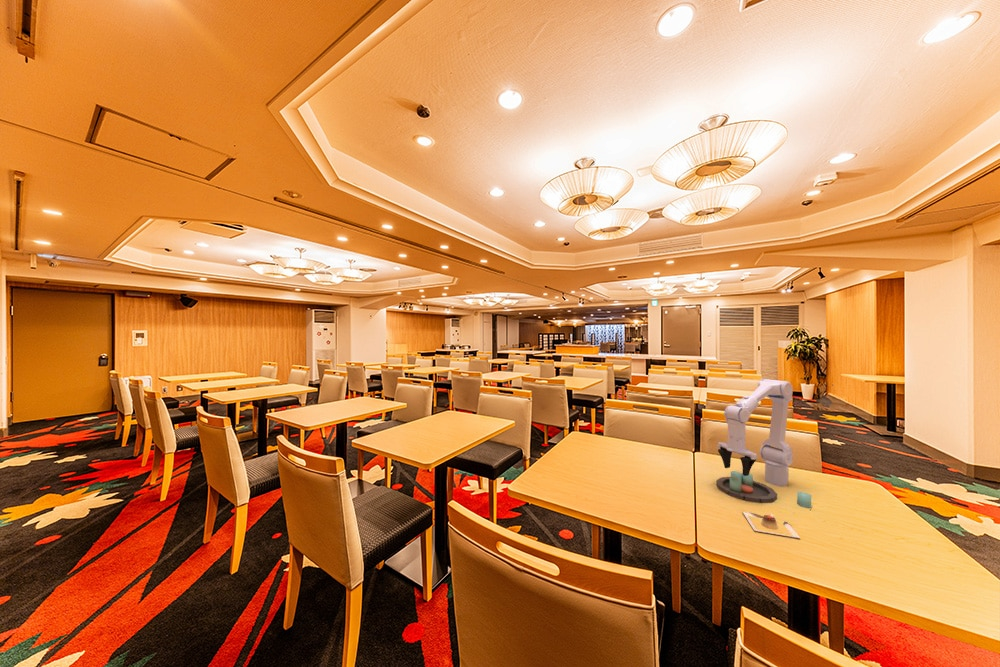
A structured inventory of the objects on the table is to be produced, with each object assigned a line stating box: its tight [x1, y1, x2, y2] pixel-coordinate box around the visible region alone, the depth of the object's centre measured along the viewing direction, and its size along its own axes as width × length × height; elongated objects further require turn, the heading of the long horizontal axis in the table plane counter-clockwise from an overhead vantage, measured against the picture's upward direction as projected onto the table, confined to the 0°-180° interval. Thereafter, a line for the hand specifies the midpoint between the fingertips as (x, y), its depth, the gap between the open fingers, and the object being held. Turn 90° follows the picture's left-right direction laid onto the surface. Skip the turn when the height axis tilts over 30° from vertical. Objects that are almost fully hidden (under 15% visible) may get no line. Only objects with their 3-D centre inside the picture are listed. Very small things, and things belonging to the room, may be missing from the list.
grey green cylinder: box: [730, 478, 741, 493], centre depth 134 cm, size 4×4×5 cm
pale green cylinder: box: [741, 472, 754, 488], centre depth 140 cm, size 4×4×5 cm
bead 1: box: [730, 470, 742, 484], centre depth 141 cm, size 4×4×5 cm
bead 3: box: [796, 491, 812, 512], centre depth 125 cm, size 4×4×5 cm
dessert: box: [742, 511, 801, 539], centre depth 113 cm, size 12×12×5 cm
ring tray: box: [715, 476, 778, 504], centre depth 136 cm, size 19×19×2 cm
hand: (736, 471), depth 134 cm, fingers open, 7 cm apart
